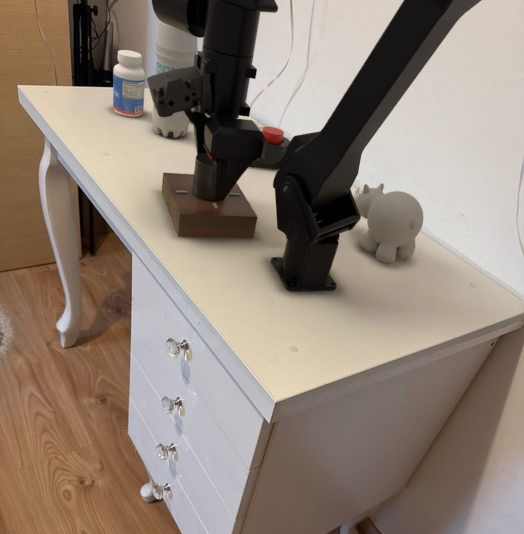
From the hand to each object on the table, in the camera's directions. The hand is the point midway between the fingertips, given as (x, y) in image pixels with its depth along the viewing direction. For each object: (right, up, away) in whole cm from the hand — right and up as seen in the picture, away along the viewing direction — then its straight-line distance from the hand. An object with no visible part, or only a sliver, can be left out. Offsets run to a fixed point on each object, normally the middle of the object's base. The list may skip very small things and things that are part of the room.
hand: (210, 183), depth 68 cm
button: (+8, +13, +20) cm, 25 cm away
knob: (0, -1, +1) cm, 1 cm away
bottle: (-10, +16, +24) cm, 30 cm away
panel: (-1, -3, +3) cm, 4 cm away
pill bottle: (-18, +22, +28) cm, 40 cm away
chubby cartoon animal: (+22, -7, +6) cm, 24 cm away
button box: (+7, +13, +24) cm, 28 cm away
